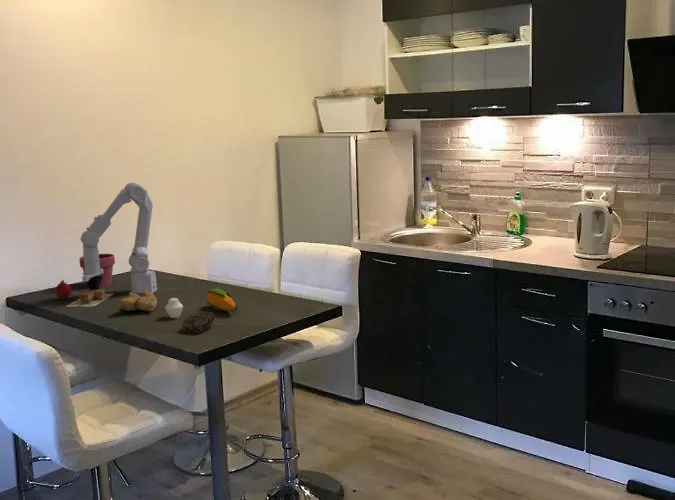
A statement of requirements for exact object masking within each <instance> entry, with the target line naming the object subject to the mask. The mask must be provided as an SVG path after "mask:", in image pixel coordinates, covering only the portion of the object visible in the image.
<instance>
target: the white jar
mask: <svg viewBox="0 0 675 500" xmlns="http://www.w3.org/2000/svg"><path fill="white" fill-rule="evenodd" d="M179 300H180V299H178V298H176V297H172V298H171V297H170V299H168V303H167V304H166V306H165V307H164V308H165V312H166V313H167V314H168V316H169V318H171V319H177V318H179V317H180V316H181V314H182V311H183V308H184V306H183V304H182V303H181V301H179Z"/></svg>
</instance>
